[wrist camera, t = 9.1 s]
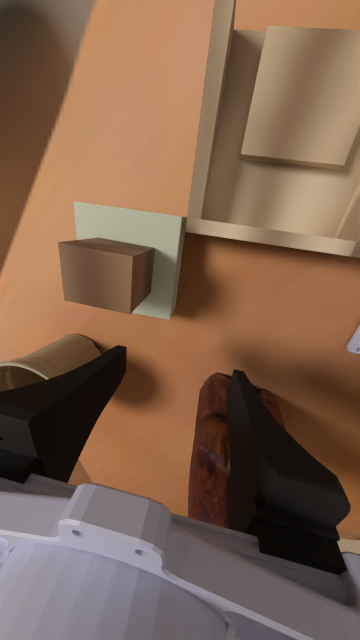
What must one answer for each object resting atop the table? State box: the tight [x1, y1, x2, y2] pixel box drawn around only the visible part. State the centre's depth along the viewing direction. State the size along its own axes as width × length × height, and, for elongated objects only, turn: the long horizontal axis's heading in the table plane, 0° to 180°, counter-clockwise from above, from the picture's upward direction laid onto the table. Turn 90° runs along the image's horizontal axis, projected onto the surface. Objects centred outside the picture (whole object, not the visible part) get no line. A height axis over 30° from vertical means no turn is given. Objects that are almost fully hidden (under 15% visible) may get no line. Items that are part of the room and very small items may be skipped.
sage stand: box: [74, 201, 187, 320], centre depth 20 cm, size 9×9×3 cm
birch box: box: [185, 0, 360, 258], centre depth 14 cm, size 13×12×4 cm
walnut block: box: [58, 237, 155, 314], centre depth 16 cm, size 5×4×5 cm
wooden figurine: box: [188, 373, 285, 529], centre depth 18 cm, size 12×6×18 cm, turn 65°
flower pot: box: [0, 334, 101, 392], centre depth 24 cm, size 9×9×9 cm
